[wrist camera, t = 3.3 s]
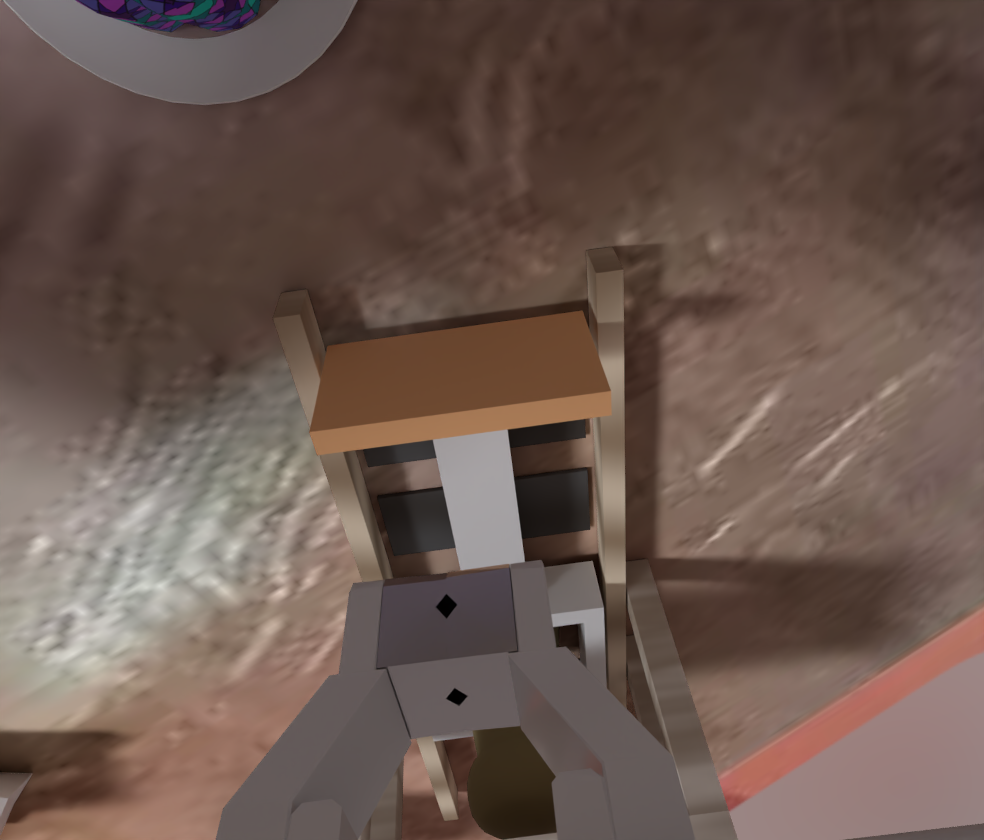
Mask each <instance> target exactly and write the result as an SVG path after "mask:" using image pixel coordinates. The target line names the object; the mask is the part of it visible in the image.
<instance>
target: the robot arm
mask: <svg viewBox="0 0 984 840" xmlns="http://www.w3.org/2000/svg"><path fill="white" fill-rule="evenodd" d="M515 726H521V729H522V731H523V732H524V734H525V735H526V736H527V738H528V739H529V740H530V742H531V743H532V745H533V746H534V747H535V749H536V750H537V751H538V753H539V754H540V756H541V757H542V758H543V760H544V761H545V762H546V764H547V765H548V767H549V768H550V769H551V771H552V772H553V773H554V775H555V776H556V778H555V779H554V780H553V782H552V791H553V801H554V810H555V819H556V828H557V838H558V840H695V836H694V832H693V829H692V825H691V821H690V818H689V814H688V810H687V806H686V803H685V799H684V795H683V791H682V788H681V784H680V780H679V777H678V773H677V769H676V765H675V762H674V758H673V756H672V755H671V754H670V753H669V752H668V751H667V750H666V749H665V748H664V747H663V746H662V745H661V744H660V743H659V742H658V741H657V739H656V738H655V737H654V736H653V735H652V734H651V733H650V732H649V731H648V730H647V729H646V728H645V727H644V726H643V725H642V724H641V723H640V722H639V721H638V720H637V719H636V718H635V717H634V716H633V715H632V714H631V713H630V712H629V711H628V710H627V709H626V708H625V707H624V706H623V705H622V704H621V703H620V702H619V701H618V699H617V698H616V697H615V696H614V695H613V694H612V693H611V692H610V691H609V690H608V689H607V688H606V687H605V686H604V685H603V684H602V683H601V682H600V681H599V680H598V679H597V678H596V677H595V676H594V675H593V674H592V673H591V672H590V671H589V670H588V669H587V668H586V667H585V666H584V665H583V664H582V663H581V662H580V661H579V660H578V658H577V657H576V656H575V655H574V654H573V653H572V652H571V651H570V650H569V649H568V648H567V647H556V642H555V636H554V629H553V623H552V616H551V610H550V603H549V597H548V590H547V584H546V577H545V570H544V564H543V562H542V560H536V561H528V562H520V563H513V564H510V565H509V564H503V565H495V566H488V567H481V568H474V569H466V570H459V571H452V572H448V573H443V574H433V575H423V576H413V577H403V578H393V579H385V580H377V581H368V582H359V583H353V585H352V587H351V590H350V592H349V599H348V606H347V614H346V622H345V629H344V637H343V645H342V653H341V660H340V668H339V674H337V675H330V676H329V677H328V678H327V679H326V680H325V682H324V683H323V684H322V685H321V687H320V688H319V689H318V690H317V692H316V693H315V694H314V695H313V697H312V698H311V699H310V700H309V702H308V703H307V704H306V705H305V707H304V708H303V709H302V710H301V712H300V713H299V714H298V715H297V717H296V718H295V719H294V720H293V722H292V723H291V724H290V725H289V727H288V728H287V729H286V730H285V732H284V733H283V734H282V736H281V737H280V738H279V739H278V741H277V742H276V743H275V744H274V746H273V747H272V748H271V749H270V751H269V752H268V753H267V754H266V756H265V757H264V758H263V759H262V761H261V762H260V763H259V764H258V766H257V767H256V768H255V769H254V771H253V772H252V773H251V774H250V776H249V777H248V778H247V779H246V781H245V782H244V783H243V784H242V786H241V787H240V788H239V789H238V791H237V792H236V793H235V794H234V796H233V797H232V798H231V799H230V801H229V802H228V803H227V805H226V806H225V807H224V808H223V811H222V815H221V820H220V824H219V828H218V832H217V836H216V840H358V839H359V837H360V835H361V833H362V831H363V830H364V828H365V826H366V824H367V822H368V821H369V819H370V817H371V815H372V813H373V812H374V810H375V808H376V806H377V804H378V802H379V801H380V799H381V797H382V795H383V793H384V792H385V790H386V788H387V786H388V784H389V783H390V781H391V779H392V777H393V775H394V773H395V772H396V770H397V768H398V766H399V764H400V763H401V761H402V759H403V757H404V755H405V754H406V752H407V750H408V748H409V746H410V745H411V740H410V739H416V738H422V737H429V736H436V735H443V734H449V733H456V732H463V731H472V730H483V729H493V728H504V727H515ZM846 840H984V823H983V824H975V825H967V826H957V827H949V828H940V829H931V830H923V831H914V832H906V833H897V834H889V835H880V836H872V837H862V838H854V839H846Z"/></svg>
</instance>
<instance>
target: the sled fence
mask: <svg viewBox="0 0 984 840" xmlns="http://www.w3.org/2000/svg"><path fill="white" fill-rule="evenodd" d="M610 415H612V408H611V389H610V386H609V384H608V381H607V378H606V375H605V372H604V370H603V367H602V364H601V361H600V358H599V356H598V353H597V350H596V347H595V344H594V341H593V339H592V336H591V333H590V330H589V327H588V325H587V322H586V319H585V316H584V313H583V311H575V312H568V313H561V314H554V315H546V316H539V317H532V318H525V319H517V320H510V321H503V322H496V323H489V324H481V325H474V326H467V327H460V328H452V329H445V330H438V331H431V332H423V333H416V334H409V335H402V336H395V337H387V338H380V339H373V340H366V341H358V342H351V343H344V344H337V345H329V346H328V347H327V351H326V356H325V361H324V365H323V370H322V375H321V380H320V384H319V389H318V394H317V398H316V403H315V408H314V413H313V417H312V422H311V427H310V431H309V433H310V436H311V439H312V442H313V444H314V447H315V450H316V453H317V455H324V454H331V453H338V452H346V451H353V450H360V449H368V448H375V447H382V446H390V445H397V444H404V443H412V442H419V441H426V440H433V443H434V448H435V453H436V457H437V462H438V467H439V471H440V476H441V481H442V485H443V490H444V495H445V499H446V504H447V509H448V513H449V518H450V523H451V527H452V532H453V537H454V541H455V546H456V551H457V555H458V560H459V565H460V569H461V570H466V569H474V568H481V567H488V566H495V565H503V564H509V565H510V564H513V563H520V562H525V559H524V551H523V544H522V536H521V528H520V521H519V513H518V506H517V498H516V491H515V483H514V475H513V468H512V460H511V453H510V445H509V437H508V430H507V429H514V428H522V427H529V426H536V425H544V424H551V423H559V422H566V421H573V420H581V419H588V418H595V417H603V416H610ZM544 570H545V577H546V584H547V590H548V597H549V603H550V610H551V616H552V623H553V627H557V626H564V625H572V624H578V635H579V649H580V662H581V663H582V664H583V665H584V666H585V667H586V668H587V669H588V670H589V671H590V672H591V673H592V674H593V675H594V676H595V677H596V678H597V679H598V680H599V681H600V682H601V683H602V684H603V685H604V686H605V687H606V688H607V683H606V655H605V627H604V606H603V602H602V598H601V594H600V590H599V585H598V581H597V577H596V573H595V569H594V565H593V561H587V562H579V563H572V564H564V565H557V566H549V567H544ZM472 736H473V731H463V732H456V733H449V734H443V735H436V736H432V738H433V741H442V740H449V739H457V738H464V737H472Z"/></svg>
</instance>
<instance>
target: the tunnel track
mask: <svg viewBox="0 0 984 840" xmlns="http://www.w3.org/2000/svg"><path fill="white" fill-rule="evenodd" d="M586 256H587V281H588V306H589V330H590V333H591V336H592V339H593V341H594V344H595V347H596V350H597V353H598V356H599V358H600V361H601V364H602V367H603V370H604V372H605V375H606V378H607V381H608V384H609V386H610V389H611V408H612V415H610V416H603V417H595V418H593V431H594V456H595V480H596V505H597V530H598V555H599V580H600V594H601V598H602V602H603V606H604V627H605V655H606V683H607V689H608V690H609V691H610V692H611V693H612V694H613V695H614V696H615V697H616V698H617V699H618V701H619V702H620V703H621V704H622V705H623V706H624V707H625V708H626V709H627V697H626V675H627V679H628V683H629V687H630V691H631V695H632V699H633V703H634V707H635V712H636V716H637V720H638V721H639V722H640V723H641V724H642V725H643V726H644V727H645V728H646V729H647V730H648V731H649V732H650V733H651V734H652V735H653V736H654V737H655V738H656V739H657V741H658V742H659V743H660V744H661V745H662V746H663V747H664V748H665V749H666V750H667V751H668V752H669V753H670V754H671V755H672V756H673V758H674V762H675V765H676V769H677V773H678V777H679V780H680V784H681V788H682V791H683V795H684V799H685V803H686V806H687V810H688V814H689V818H690V821H691V825H692V829H693V832H694V836H695V840H738V838H737V835H736V832H735V829H734V826H733V823H732V820H731V817H730V814H729V810H728V807H727V804H726V801H725V798H724V795H723V792H722V789H721V786H720V782H719V779H718V776H717V773H716V770H715V767H714V764H713V761H712V758H711V755H710V751H709V748H708V745H707V742H706V739H705V736H704V733H703V730H702V727H701V723H700V720H699V717H698V714H697V711H696V708H695V705H694V702H693V699H692V696H691V692H690V689H689V686H688V683H687V680H686V677H685V674H684V671H683V668H682V664H681V661H680V658H679V655H678V652H677V649H676V646H675V643H674V640H673V637H672V633H671V630H670V627H669V624H668V621H667V618H666V615H665V612H664V609H663V605H662V602H661V599H660V596H659V593H658V590H657V587H656V584H655V581H654V578H653V574H652V571H651V568H650V565H649V562H648V559H642V560H635V561H627V562H626V550H625V404H624V269H623V267H622V265H621V263H620V261H619V259H618V257H617V255H616V253H615V251H614V249H613V247H607V248H600V249H593V250H586ZM273 321H274V324H275V327H276V330H277V333H278V336H279V339H280V342H281V345H282V348H283V351H284V353H285V356H286V359H287V362H288V365H289V368H290V371H291V374H292V377H293V380H294V383H295V386H296V389H297V391H298V394H299V397H300V400H301V403H302V406H303V409H304V412H305V415H306V418H307V421H308V424H309V427H311V422H312V417H313V413H314V408H315V403H316V398H317V394H318V389H319V384H320V380H321V375H322V370H323V365H324V361H325V356H326V351H325V347H324V344H323V341H322V337H321V334H320V331H319V327H318V324H317V321H316V317H315V314H314V311H313V307H312V304H311V301H310V297H309V294H308V291H307V289H306V290H299V291H292V292H285V293H281V295H280V298H279V301H278V304H277V307H276V310H275V313H274V315H273ZM507 430H508V437H509V445H510V448H513V447H520V446H527V445H535V444H542V443H549V442H557V441H564V440H572V439H579V438H586V434H585V419H581V420H573V421H566V422H559V423H551V424H544V425H536V426H529V427H522V428H514V429H507ZM363 451H364V454H365V457H366V461H367V464H368V467H373V466H380V465H388V464H395V463H402V462H410V461H417V460H424V459H432V458H437V457H436V453H435V448H434V443H433V440H426V441H419V442H412V443H404V444H397V445H390V446H382V447H375V448H368V449H363ZM319 456H320V459H321V462H322V465H323V468H324V470H325V473H326V476H327V479H328V482H329V485H330V488H331V491H332V494H333V497H334V500H335V503H336V506H337V509H338V511H339V514H340V517H341V520H342V523H343V526H344V529H345V532H346V535H347V538H348V541H349V544H350V547H351V550H352V552H353V555H354V558H355V561H356V564H357V567H358V570H359V573H360V576H361V579H362V582H368V581H377V580H385V579H393V578H394V577H393V574H392V570H391V567H390V564H389V560H388V557H387V554H386V550H385V547H384V544H383V540H382V537H381V534H380V530H379V527H378V524H377V520H376V517H375V514H374V510H373V507H372V504H371V500H370V497H369V494H368V490H367V487H366V484H365V480H364V477H363V474H362V470H361V467H360V464H359V460H358V457H357V454H356V450H353V451H346V452H338V453H331V454H324V455H319ZM514 483H515V491H516V498H517V506H518V513H519V521H520V528H521V536H522V539H524V538H532V537H539V536H547V535H554V534H561V533H569V532H576V531H584V530H590V516H589V495H588V475H587V468H580V469H573V470H566V471H558V472H551V473H543V474H536V475H529V476H521V477H514ZM378 502H379V505H380V509H381V512H382V516H383V519H384V523H385V526H386V529H387V533H388V536H389V540H390V543H391V547H392V550H393V553H394V556H397V555H405V554H412V553H420V552H427V551H435V550H442V549H450V548H456V546H455V541H454V537H453V532H452V527H451V523H450V518H449V513H448V509H447V504H446V499H445V495H444V490H443V487H440V488H433V489H425V490H418V491H410V492H403V493H396V494H388V495H381V496H378ZM626 606H627V610H628V613H629V617H630V621H631V624H632V628H633V632H634V635H631V636H626ZM416 740H417V743H418V746H419V748H420V751H421V754H422V757H423V760H424V763H425V766H426V769H427V772H428V775H429V778H430V781H431V784H432V787H433V789H434V792H435V795H436V798H437V801H438V804H439V807H440V810H441V813H442V816H443V819H444V821H449V820H456V819H459V818H458V790H457V787H456V783H455V780H454V777H453V773H452V770H451V767H450V763H449V760H448V757H447V753H446V750H445V747H444V743H443V740H442V741H433V738H432V736H429V737H422V738H416ZM403 765H404V757H403V759H402V761H401V763H400V764H399V766H398V768H397V770H396V772H395V773H394V775H393V777H392V779H391V781H390V783H389V784H388V786H387V788H386V790H385V792H384V793H383V795H382V797H381V799H380V801H379V802H378V804H377V806H376V808H375V810H374V812H373V813H372V815H371V817H370V819H369V821H368V822H367V824H366V826H365V828H364V830H363V831H362V833H361V835H360V837H359V839H358V840H402V803H403ZM504 840H558V838H557V833H551V834H543V835H535V836H527V837H519V838H512V839H504Z"/></svg>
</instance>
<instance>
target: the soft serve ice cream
mask: <svg viewBox="0 0 984 840" xmlns="http://www.w3.org/2000/svg"><path fill="white" fill-rule="evenodd" d="M32 774H33V773H2V772H0V835H1V833H2V831H3V828H4V826H5V824H6V821H7V819H8V817H9V814H10V812H11V810H12V807H13V805H14V803H15V802H16V800H17V798H18V797H19V795H20V793H21V792H22V790H23V789H24V787H25V785H26V784H27V782H28V780H29V779H30V777H31V775H32Z"/></svg>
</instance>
